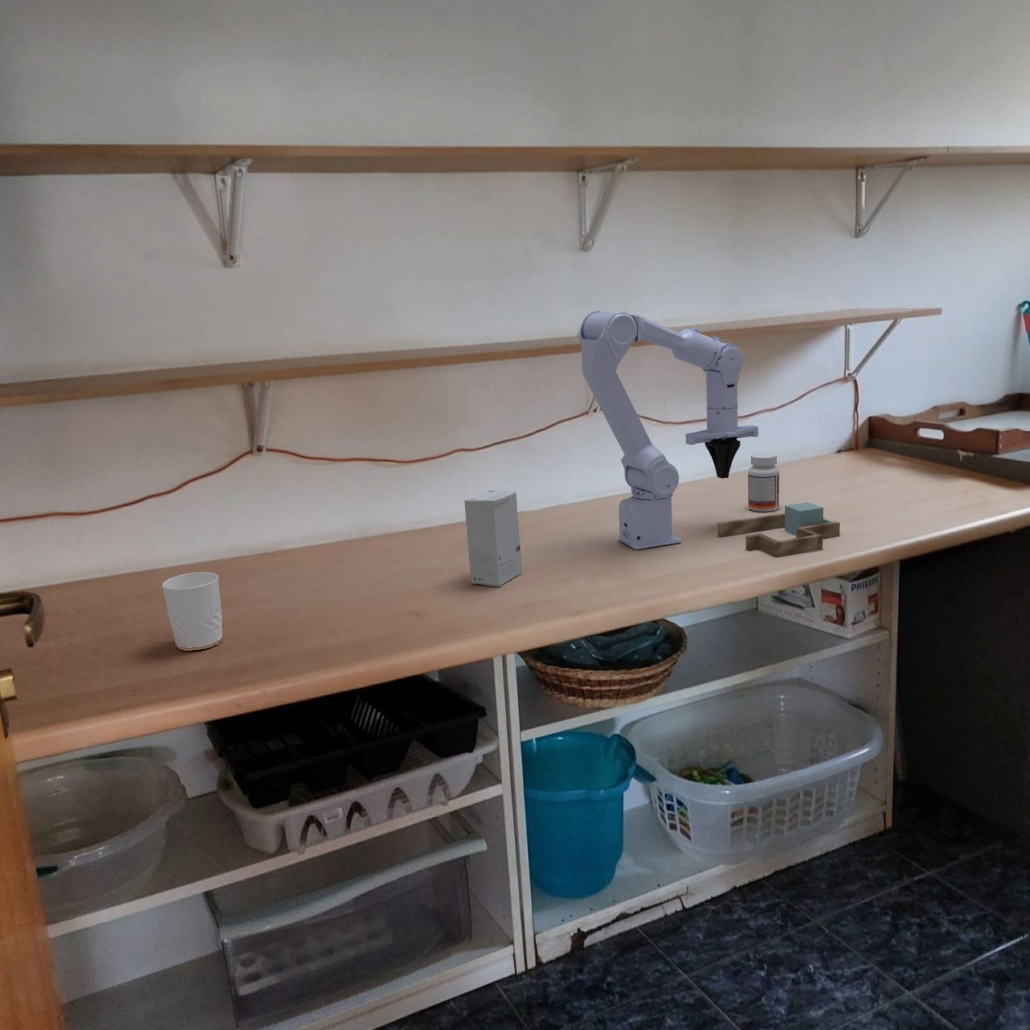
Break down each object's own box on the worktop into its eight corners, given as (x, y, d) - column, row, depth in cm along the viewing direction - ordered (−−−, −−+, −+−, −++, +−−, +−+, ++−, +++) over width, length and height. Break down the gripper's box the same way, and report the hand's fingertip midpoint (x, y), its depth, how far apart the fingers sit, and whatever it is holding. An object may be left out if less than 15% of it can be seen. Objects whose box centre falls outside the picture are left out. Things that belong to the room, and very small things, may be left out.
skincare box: (499, 588, 162) (493, 501, 158) (468, 584, 165) (462, 499, 161) (523, 573, 169) (518, 489, 165) (493, 569, 172) (488, 487, 168)
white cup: (232, 632, 149) (224, 570, 147) (219, 651, 142) (209, 586, 139) (181, 635, 149) (171, 573, 146) (165, 655, 141) (154, 590, 139)
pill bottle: (760, 503, 205) (760, 450, 202) (785, 508, 200) (785, 454, 197) (742, 509, 201) (741, 455, 198) (766, 514, 196) (766, 459, 193)
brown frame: (765, 558, 168) (765, 544, 167) (717, 535, 183) (717, 523, 183) (858, 543, 173) (859, 529, 173) (804, 522, 189) (804, 509, 188)
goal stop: (831, 535, 179) (831, 522, 178) (803, 524, 187) (803, 511, 187) (836, 534, 179) (836, 521, 179) (807, 523, 188) (807, 510, 187)
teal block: (799, 537, 179) (799, 511, 178) (784, 531, 184) (784, 505, 183) (823, 533, 181) (823, 507, 179) (807, 527, 185) (808, 502, 184)
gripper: (697, 413, 177) (699, 486, 181) (767, 405, 181) (767, 476, 185) (679, 409, 184) (681, 479, 187) (747, 401, 188) (747, 469, 191)
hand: (722, 477), depth 186 cm, fingers closed
